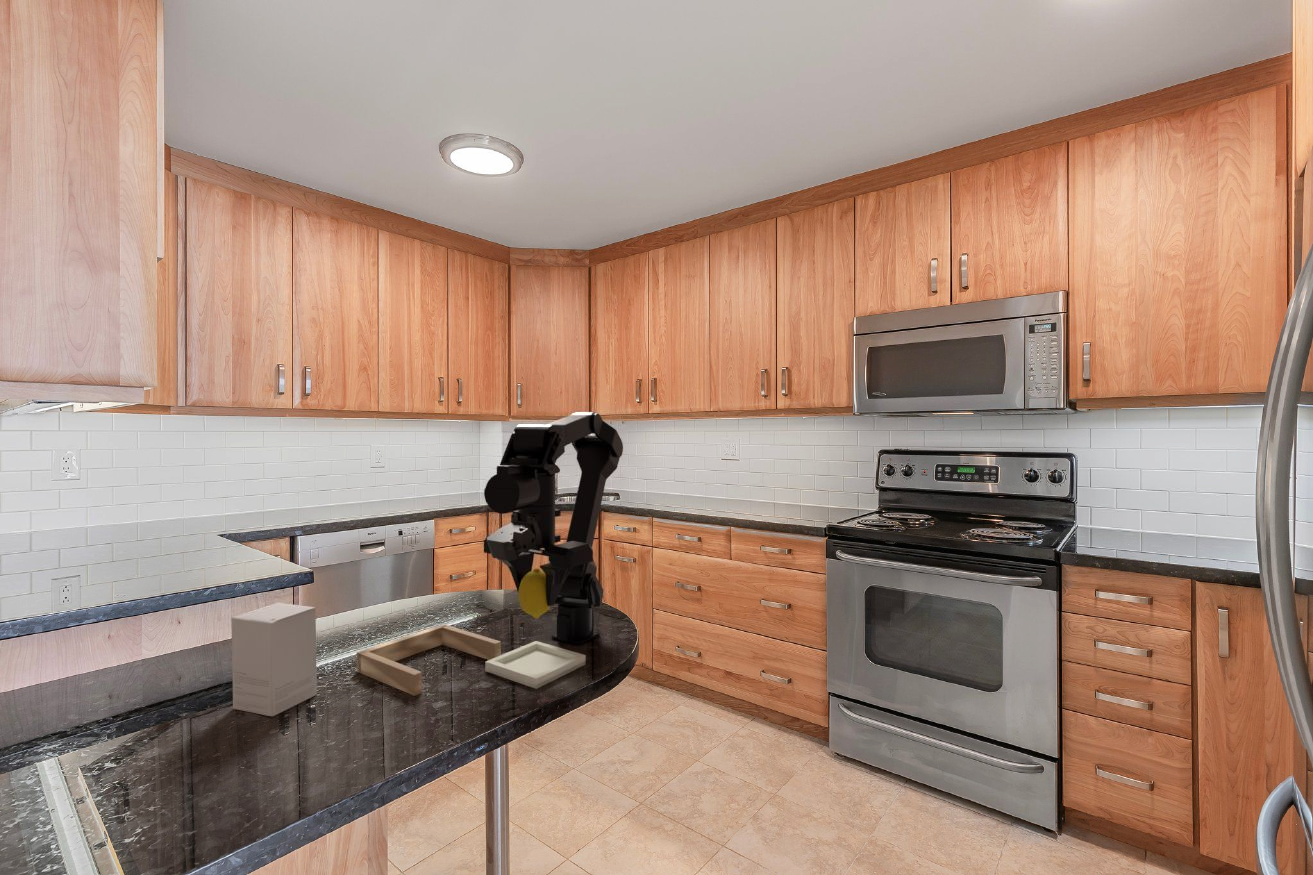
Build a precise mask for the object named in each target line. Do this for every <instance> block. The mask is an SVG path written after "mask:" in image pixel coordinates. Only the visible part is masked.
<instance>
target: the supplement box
mask: <svg viewBox="0 0 1313 875" xmlns="http://www.w3.org/2000/svg"><path fill="white" fill-rule="evenodd" d="M316 610H317V609H316V607H315V606H308V605H298V604H290V603H283V602H276V603H272V604H269V605H267V606H262V607H260V608H259V607H258V608H257V609H254V610H251V611H247V612H244V613H241V614H239V615H235V616H233V617H231V618H230V620H231V657H232V659H231V663H232V666H231V668H232V669H231V670H232V671H231V672H232V708H233V710H238V711H243V712H246V713H247V712H248V713H253V714H258V715H263V716H267V717H274V716H276V715H279V714H281V713H283V712H284V711H287V710H289V709H291V708H293V707H295V706H298V705H299V704H301V703H303V702H305V701H307V700H309V699H311V698H312V697H315V696H316V695H317V693H318V688H317V686H318V682H317V680H318V678H317V675H318V674H317V669H318V668H317V629H316V628H317V627H316V626H317V625H316V624H317V623H316V622H317V619H316V618H317V616H316V615H317V614H316V613H317V612H316Z"/></svg>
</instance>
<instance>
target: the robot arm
mask: <svg viewBox="0 0 1313 875" xmlns="http://www.w3.org/2000/svg"><path fill="white" fill-rule="evenodd" d="M623 443H624V442H623V440H622V439H621V437H620V435H619V433H618V431H617V429H616V428H614V427H613V426H612V425H610V424H609V423H607V422H605V421H604V420H603V418H602V416H601V415H600V414H599V413H597V412H595V411H576V412H573V413H572V414H570V415H567V416H565V417H562V418H560V419H557V420H554V421H551V422H549V423H544V424H543V423H542V424H541V423H537V424H534V423H533V424H532V423H527V424H526V423H523V424H521V423H520V424H518V425H516V426H515V427H514V429H513V432H512V433H511V435H510V438H509V440H508V442H507V444H506V448H505V450H504V453H503V455H502V458H501V461H500V463H499V465H497V466H496V474H494V475H493V476H491V477H490V478H489V479H488V481H487V483H486V485H485V488H484V490H483V495H484V500H485V503H486V504H487V506H488V508H490V510H492V512H495V513H497V514H504V515H505V514H508V513H512V514H510V515H511V516H510V523H508V524H506V525H503V526H502V527H500V528H499V529H497V530H496V531H494V532H492V533H491V534H490V533H489V534H487V535H486V537H485V539H484V540H483V553H484V554H490V555H491V557H492V558H493V559H497V560H498V561H500V562H501V563H503V564H504V565H506V566H507V567H508V569H509V572H510V574H511V576H512V580H513V583H514V585H515V587H516V592H517V593H518V594H519V587H520V583H521V581H522V579H523V577H524V576H525V575H526V574H527V573H529V572H531V571H533V565H534V560H535V559H534V558H535V555H538V556H539V555H540V556H542V557H543V556H544V557H548V563H545V564H541V565H539V569H541V571H543V572H544V573H545V575H546V599H547V605H548V606H551V607H552V606H554V605H557V614H556V632H555V633H552V634H550V638H551V639H555V640H558V641H561V642H566V643H569V644H572V645H582V644H583V643H585V642H587V641H588V642H589V640H592V639H594V638H596V637H598V636H601V632H600V631H598V630H595V629H594V612H595V611H594V608H596V607H601V606H602V603H603V598H604V588H603V587H602V585H601V583H600V581H599V579H598V577H597V571H598V568H597V565H596V562H595V559H594V548H593V544H594V541H595V535H596V532H597V531H596V529H597V526H598V525H597V524H598V521H599V516H600V511H601V508H602V501H603V496H604V491H605V487H606V482H607V480H608V478H609V477H610V476H611V475H612V474H614V472H615V471H616V470H617V469H618V466H619V462H620V458H621V457H622V455H623V452H624V444H623ZM570 444H571V445H572V447H573V448H574V450H575V451H576V460H577V463H578V466H579V469H580V471H581V472H580V473H581V474H580V478H579V483H578V487H577V492H576V496H575V501H574V505H573V510H572V514H571V517H570V518H571V519H570V523H569V527H568V532H567V536H566V541H565V542H562V543H561V540H562V539H561V537H562V535H561V534H560V535H559V534H556V518H557V517H561V515H562V514H561V512H562V511H561V509H557V508H556V474H559V473H561V472H560V471H561V468H560V467H559V465H557V464H556V463H557V460H558V459H559V458H560V457H561V456H563V455H564V454H565V452H566V450H565V447H567V446H568V445H570ZM559 542H560V543H559ZM556 543H559V544H556Z"/></svg>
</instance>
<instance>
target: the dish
mask: <svg viewBox="0 0 1313 875" xmlns="http://www.w3.org/2000/svg"><path fill="white" fill-rule="evenodd" d="M585 665H586V655H585V654H582V653H579V652H576V651H572V650H569V649H565V648H561V647H558V646H556V645H552V644H548V643H545V642H541V641H538V640H535V641H532V642H530V643H527V644H526V645H523V646H519V647H517V648H515V649H513V650H511V651H508V652H506V653H503V654H501V655H500V656H498V657H495V658H493V659H491V660H487V661H485V664H484V666H485V672H487V673H490V674H493V675H496V676H499V677H501V678H504V679H507V680H510V681H512V682H516V683H519V684H521V685H523V686H527V687H530V688H532V689H535V690H537V689H539V688H542V687H543V686H545V685H547V684H549V683H551V682H554V681H556V680H557V679H560V678H562V677H563V676H565V675H567V674H570V673H572V672H573V671H575V670H577V669H579V668H581V667H583V666H585Z"/></svg>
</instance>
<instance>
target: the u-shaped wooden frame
mask: <svg viewBox="0 0 1313 875" xmlns="http://www.w3.org/2000/svg"><path fill="white" fill-rule="evenodd" d="M441 645H443V646H445V647H449V648H452V649H455V650H458V651H460V652H464V653H466V654H470V655H473V656H476V657H479V658H482V659H485V660H487V661H488V660H491V659H493V658H495V657H498V656H500V655H502V649H501V648H502V642H501V641H500V640H497V639H493V638H490V637H487V636H484V635H481V634H477V633H475V632H474V633H473V632H470V631H467V630H465V629H460V628H458V627H454V626H452V625H451V626H450V625H448V624H444V623H442V624H440V625H436V626H433V627H430V628H426V629H425V630H421V631H418V632H415V633H411V634H409V635H406V636H403V637H400V638H396V639H393V640H390V641H387V642H385V643H381V644H378V645H374V646H371V647H369V648H365V649H363V650H359V651H356V672H357V673H360V674H362V675H364V676H367V677H369V678H372V679H374V680H376V681H378V682H381V683H383V684H386V685H388V686H390V687H392V688H394V689H397V690H399V691H403V692H405V693H407V694H409V695H410V696H411V695H412V696H413V697H414V696H418V695H420V694H422V693H423V692H422V691H423V676H422V675H423V672H422V671H420V670H418V669H414V668H412V667H410V666H408V665H404V664H402V663H399V662H397V661H400V660H403V659H405V658H407V657H411V656H413V655H417V654H419V653H422V652H425V651H427V650H431V649H433V648H434V649H435V648H436V647H439V646H441Z"/></svg>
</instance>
